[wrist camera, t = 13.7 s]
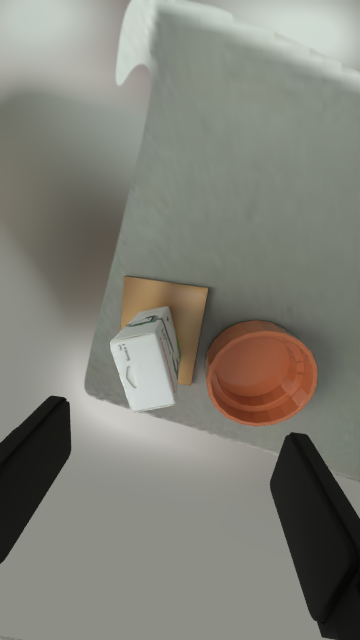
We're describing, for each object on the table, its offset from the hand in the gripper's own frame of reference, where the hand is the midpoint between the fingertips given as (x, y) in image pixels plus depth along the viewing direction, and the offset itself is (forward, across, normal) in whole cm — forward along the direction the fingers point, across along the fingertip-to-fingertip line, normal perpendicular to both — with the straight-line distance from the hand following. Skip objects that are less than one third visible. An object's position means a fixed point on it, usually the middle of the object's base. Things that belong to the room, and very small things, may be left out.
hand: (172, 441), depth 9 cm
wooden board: (+24, +4, +5) cm, 25 cm away
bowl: (+24, -11, +8) cm, 28 cm away
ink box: (+23, +4, +5) cm, 24 cm away
